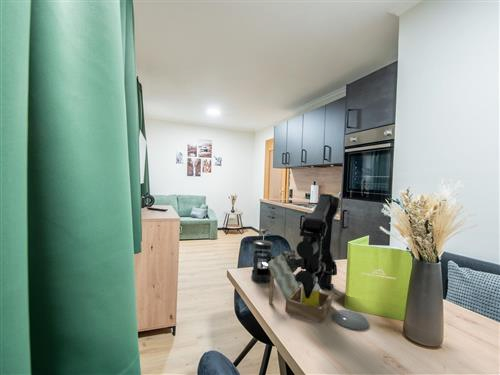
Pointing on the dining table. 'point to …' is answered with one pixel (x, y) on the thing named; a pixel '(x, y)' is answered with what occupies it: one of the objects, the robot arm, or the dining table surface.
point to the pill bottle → (311, 296)
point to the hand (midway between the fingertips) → (310, 294)
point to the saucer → (350, 319)
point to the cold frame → (295, 292)
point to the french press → (261, 269)
